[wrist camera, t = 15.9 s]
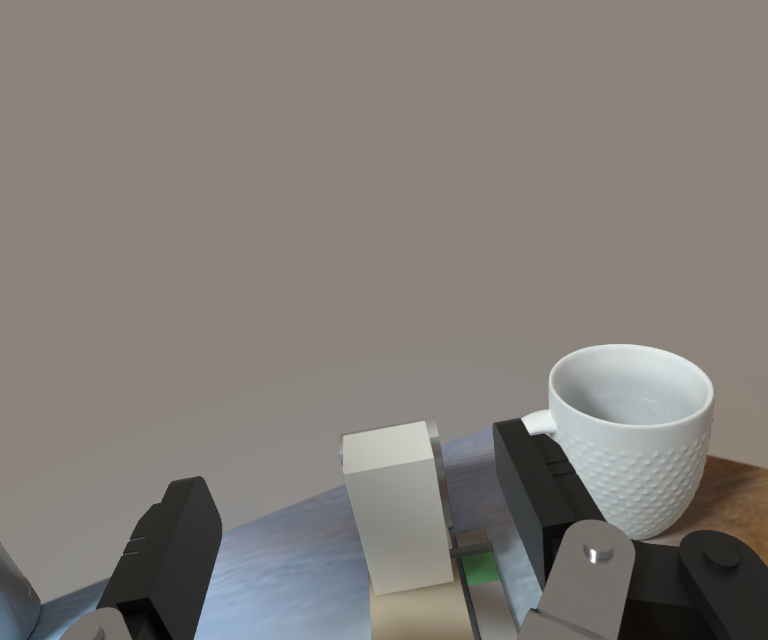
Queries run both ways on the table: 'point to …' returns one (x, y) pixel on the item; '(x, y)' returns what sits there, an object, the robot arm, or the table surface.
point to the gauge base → (444, 586)
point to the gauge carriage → (399, 508)
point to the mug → (631, 431)
